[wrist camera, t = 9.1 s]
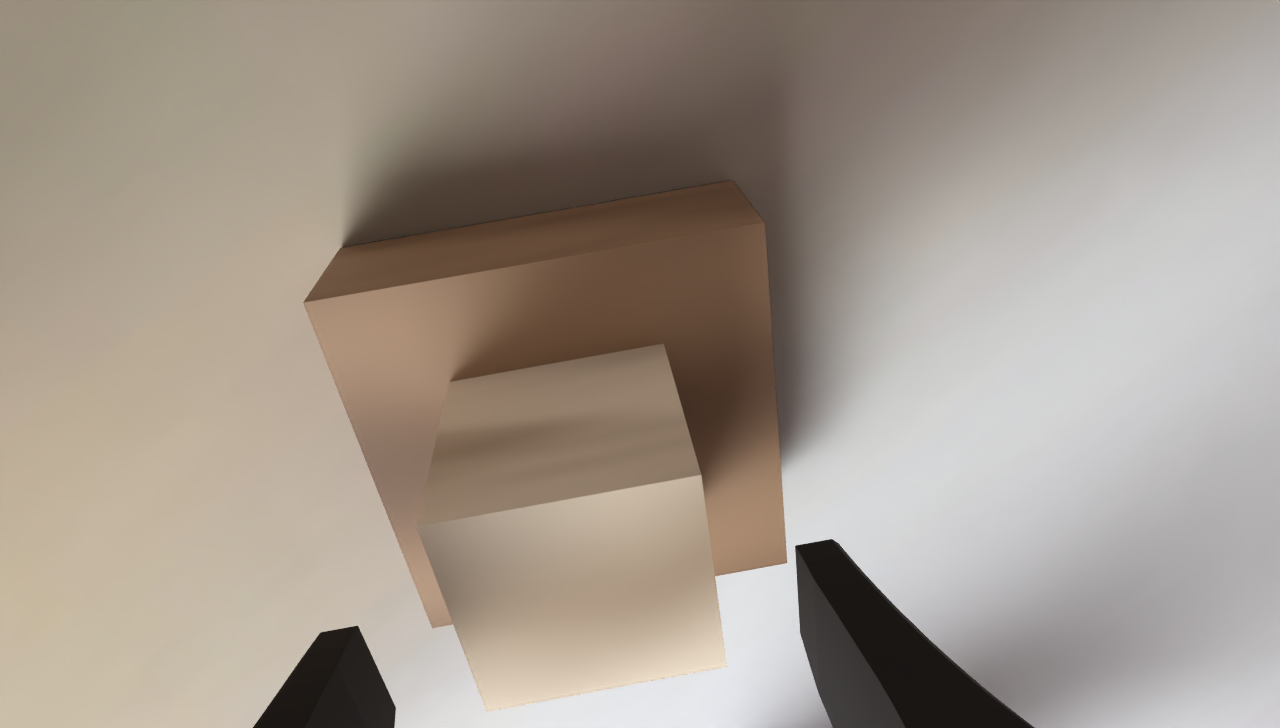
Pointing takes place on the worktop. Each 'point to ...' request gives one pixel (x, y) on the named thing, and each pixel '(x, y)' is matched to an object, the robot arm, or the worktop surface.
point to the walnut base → (566, 342)
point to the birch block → (572, 529)
